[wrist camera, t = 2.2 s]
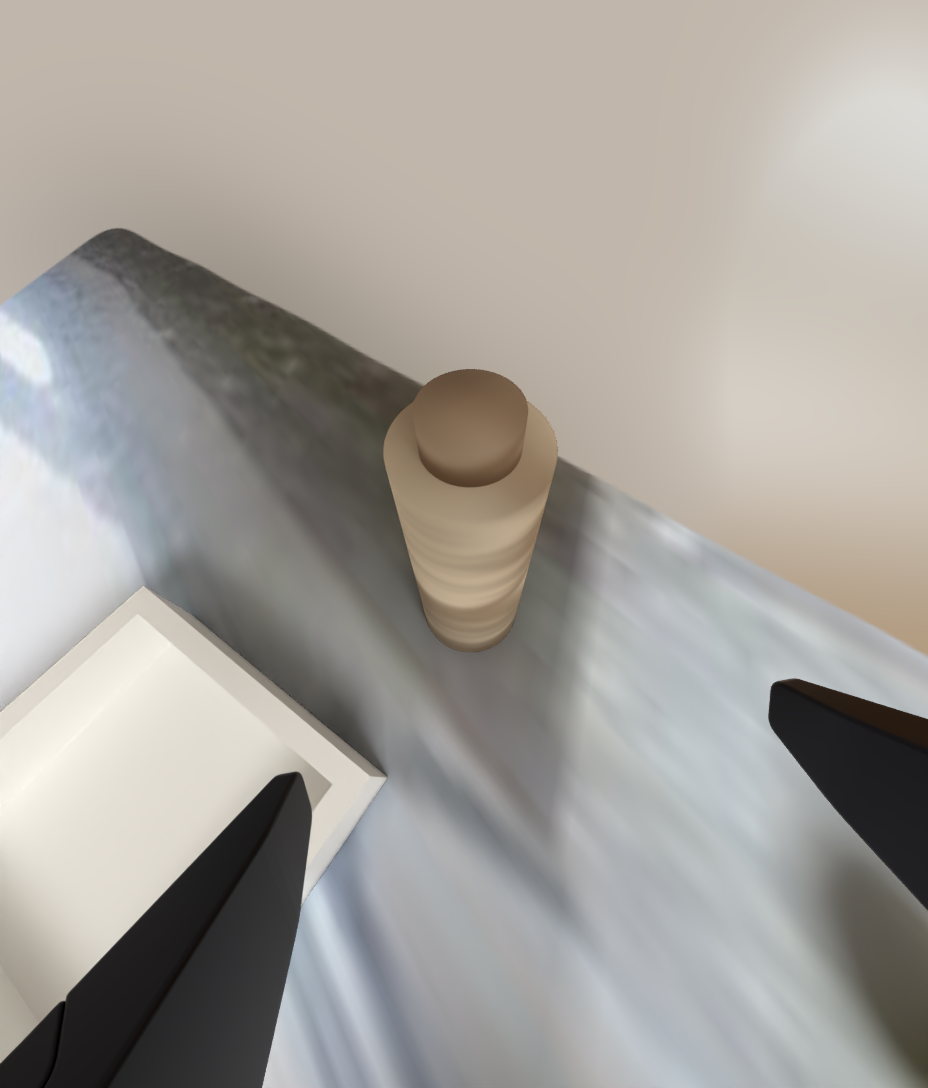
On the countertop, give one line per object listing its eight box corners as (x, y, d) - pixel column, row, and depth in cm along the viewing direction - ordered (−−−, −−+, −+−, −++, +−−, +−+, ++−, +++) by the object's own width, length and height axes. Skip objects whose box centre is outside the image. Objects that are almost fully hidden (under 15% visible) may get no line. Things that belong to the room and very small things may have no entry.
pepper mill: (483, 670, 22) (500, 521, 9) (406, 618, 23) (332, 428, 11) (532, 595, 24) (600, 389, 11) (458, 551, 25) (447, 324, 13)
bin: (119, 1175, 14) (4, 1304, 11) (-79, 875, 18) (-210, 897, 15) (387, 777, 20) (370, 776, 16) (191, 614, 24) (143, 585, 20)
